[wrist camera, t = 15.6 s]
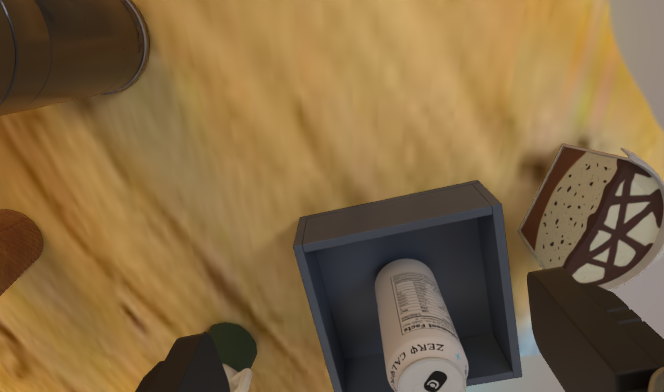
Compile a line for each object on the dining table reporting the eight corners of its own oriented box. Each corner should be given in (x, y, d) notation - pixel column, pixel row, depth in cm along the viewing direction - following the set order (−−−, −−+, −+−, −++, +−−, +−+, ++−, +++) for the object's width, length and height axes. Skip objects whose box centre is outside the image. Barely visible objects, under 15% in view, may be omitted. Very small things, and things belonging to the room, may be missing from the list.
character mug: (243, 294, 48) (208, 381, 35) (288, 338, 49) (270, 436, 37) (172, 349, 50) (117, 448, 38) (217, 389, 52) (179, 497, 40)
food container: (566, 262, 46) (624, 319, 36) (510, 244, 45) (555, 297, 36) (630, 149, 42) (714, 181, 33) (570, 128, 42) (638, 153, 32)
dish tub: (338, 361, 50) (338, 408, 44) (299, 217, 45) (292, 246, 38) (498, 332, 49) (522, 377, 42) (478, 179, 43) (501, 203, 37)
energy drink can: (363, 291, 46) (373, 400, 32) (393, 244, 45) (417, 338, 30) (413, 315, 47) (444, 432, 33) (445, 270, 46) (492, 374, 31)
